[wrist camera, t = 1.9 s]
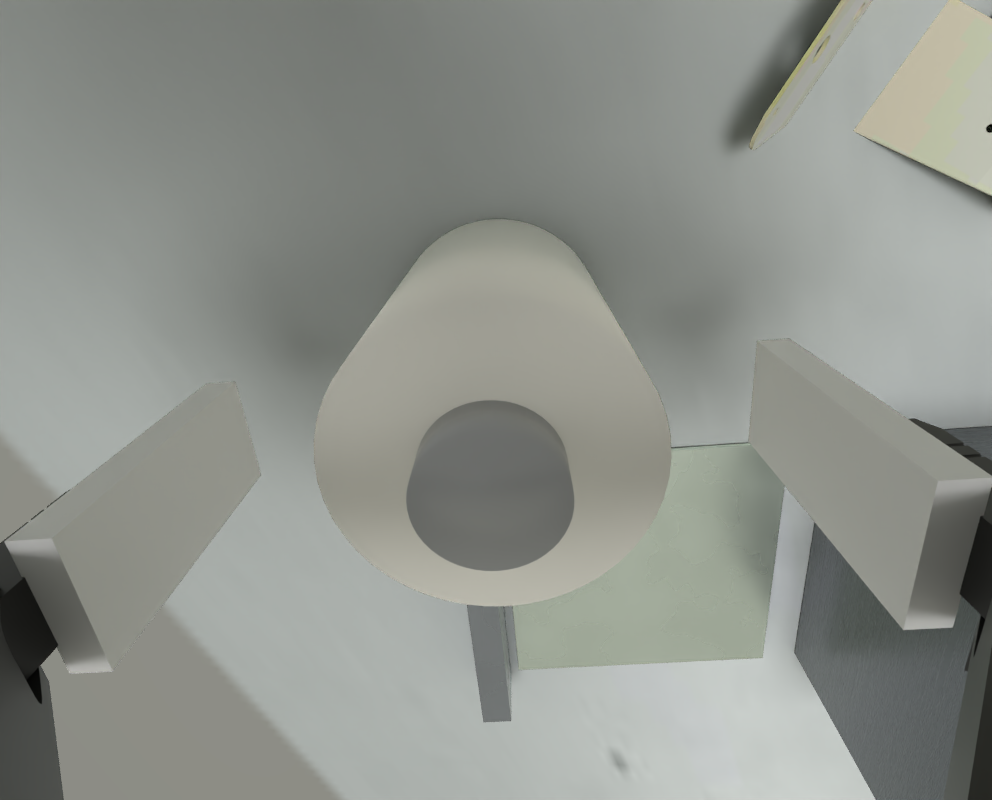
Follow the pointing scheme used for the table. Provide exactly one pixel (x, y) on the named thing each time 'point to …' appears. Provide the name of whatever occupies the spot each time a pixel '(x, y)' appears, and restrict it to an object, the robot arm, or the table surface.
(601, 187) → the table surface
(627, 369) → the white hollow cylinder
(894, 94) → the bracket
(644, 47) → the table surface
